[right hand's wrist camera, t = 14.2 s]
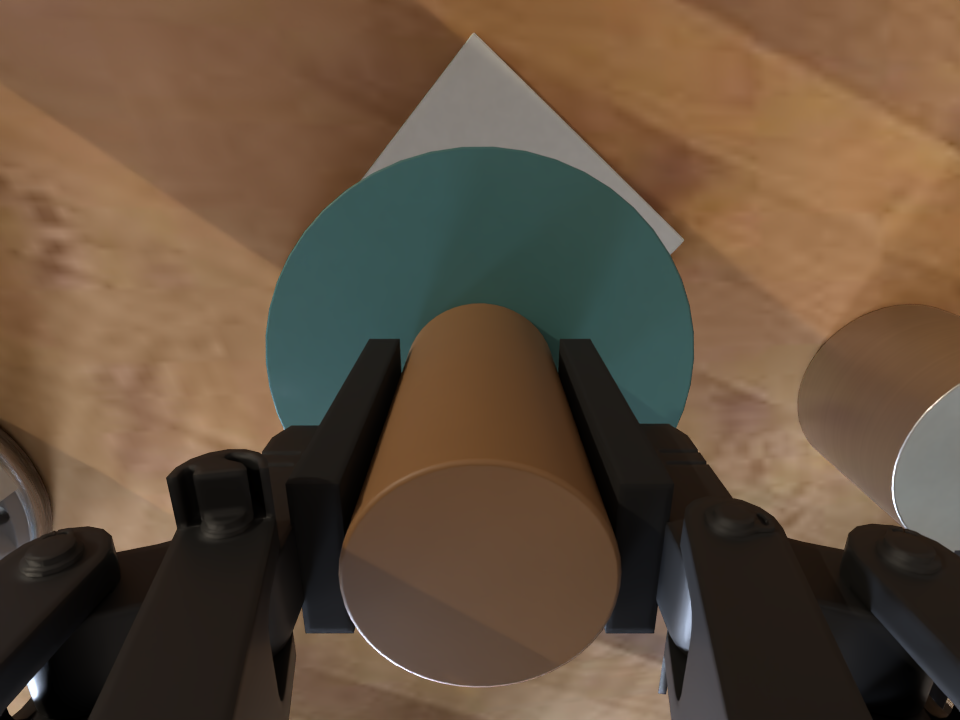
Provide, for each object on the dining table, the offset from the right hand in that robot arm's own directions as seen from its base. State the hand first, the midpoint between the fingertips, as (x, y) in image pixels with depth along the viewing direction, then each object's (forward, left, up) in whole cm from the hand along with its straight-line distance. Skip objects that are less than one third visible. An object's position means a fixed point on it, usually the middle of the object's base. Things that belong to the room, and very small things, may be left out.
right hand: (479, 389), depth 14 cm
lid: (0, 0, -2) cm, 2 cm away
